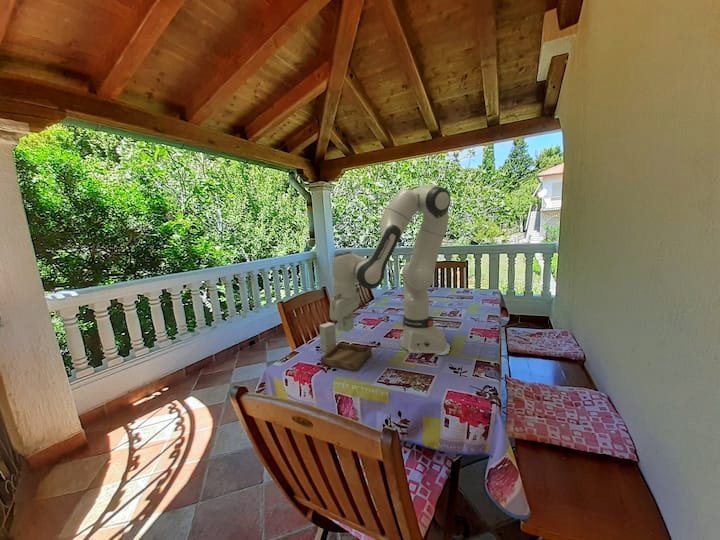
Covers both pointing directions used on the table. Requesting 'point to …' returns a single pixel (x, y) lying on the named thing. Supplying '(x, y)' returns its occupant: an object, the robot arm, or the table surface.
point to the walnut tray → (346, 356)
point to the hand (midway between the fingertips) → (345, 324)
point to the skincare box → (327, 336)
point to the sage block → (347, 323)
